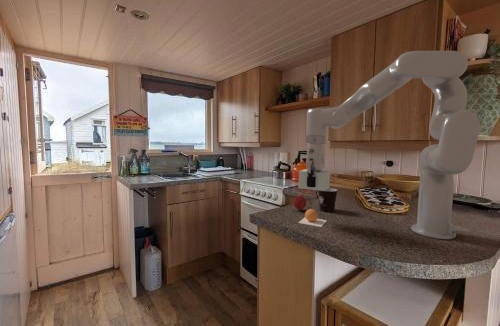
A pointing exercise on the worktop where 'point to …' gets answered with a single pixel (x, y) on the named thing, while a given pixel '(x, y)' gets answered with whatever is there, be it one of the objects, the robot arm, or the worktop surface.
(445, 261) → the worktop surface
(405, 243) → the worktop surface
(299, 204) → the onion
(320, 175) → the pale sage box
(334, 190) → the coffee mug
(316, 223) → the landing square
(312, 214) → the ball
